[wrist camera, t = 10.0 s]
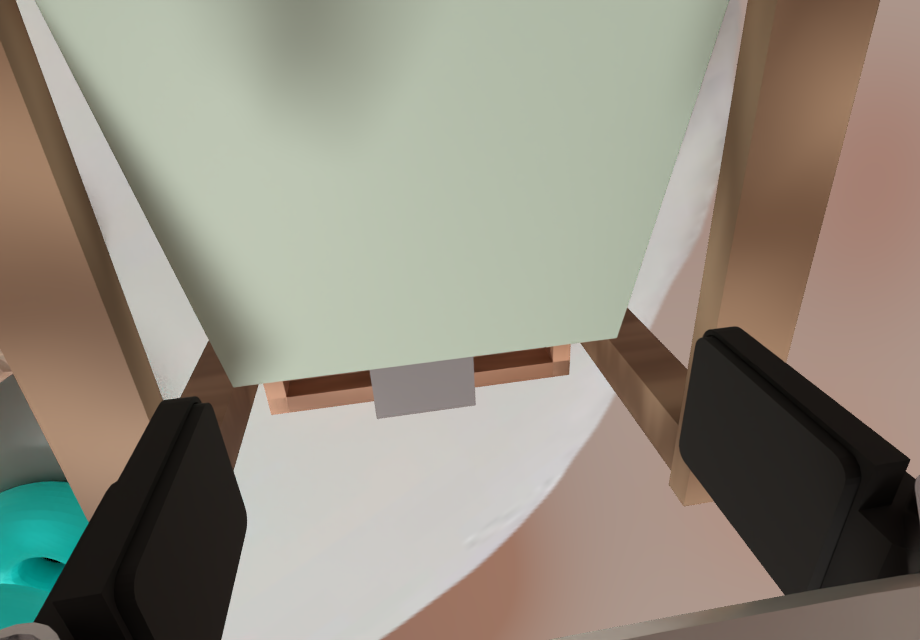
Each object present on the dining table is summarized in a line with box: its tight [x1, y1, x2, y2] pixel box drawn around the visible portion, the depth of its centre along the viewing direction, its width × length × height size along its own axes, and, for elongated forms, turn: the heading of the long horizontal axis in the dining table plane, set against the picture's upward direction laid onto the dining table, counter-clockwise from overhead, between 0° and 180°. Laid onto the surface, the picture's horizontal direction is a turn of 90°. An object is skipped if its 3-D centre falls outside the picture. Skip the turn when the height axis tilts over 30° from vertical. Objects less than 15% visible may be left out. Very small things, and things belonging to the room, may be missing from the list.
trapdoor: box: [35, 0, 729, 387], centre depth 15 cm, size 14×14×1 cm
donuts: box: [0, 481, 89, 630], centre depth 31 cm, size 10×10×10 cm
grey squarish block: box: [370, 357, 476, 419], centre depth 29 cm, size 5×5×6 cm
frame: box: [0, 0, 880, 522], centre depth 21 cm, size 24×20×16 cm
